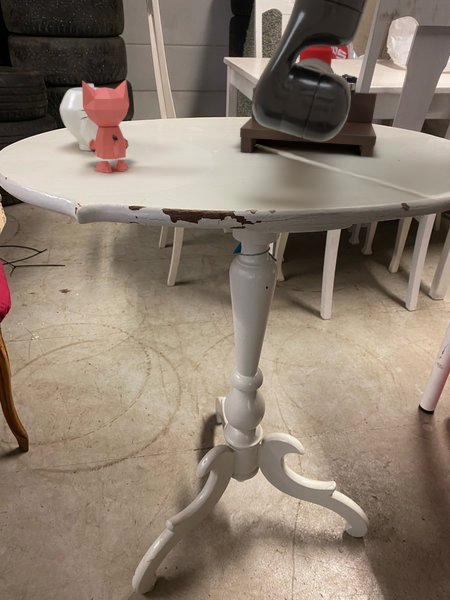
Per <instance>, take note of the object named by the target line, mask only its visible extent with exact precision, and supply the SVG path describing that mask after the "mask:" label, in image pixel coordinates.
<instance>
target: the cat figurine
mask: <svg viewBox="0 0 450 600" xmlns="http://www.w3.org/2000/svg"><path fill="white" fill-rule="evenodd" d="M127 82H128V81H127V79H125V80H123V81H122V82H121V83H120V84H119V85H118V86H117V87H116V88H111V87H105V86H103V87H97V88H98V89H96V90H94V89H93V88H92V87H90V86H89V85H88V84H89V83H88V82H86V81H84V80H82V81H81V85H82V86H81V87H82V93H83V109H84V110H81V111H85V112H86V114H87V117H88V118H89V119H90V120H92V121H93V122H94V123H95V124H96V125H97V126H99V127H98V130H97V134H96V139H95V141H94V139H92V140H91V141H90V142H89V149H90V150H92V151H91V152H92V153H94V154H96V157H97V158H99V159H101V161H99V162H97V163H96V165H95V167H94V171H95V172H100V173H113V169H112V166H111V164H110V162H109V161H108V160H117V161H116V164H115V166H114V170H115V171H117V172H124V171H127V170H128V169H129V165H128V163H127V162H126V161H125V160H122V158H123V159H124V158H127V155H126V154H127V152H126V150H127V149H128V148H129V146H130V145H129V141H128V139H126V138H125V137H124V134H123V132H122V129H121V128H120V124H121V123H122V122H123V120H124V119H125V118H127V114H128V112H129V108H130V99H129V98H130V97H129V90H128V83H127ZM87 117H84V118H87ZM84 118H82V119H84ZM80 120H81V119H80Z"/></svg>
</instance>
